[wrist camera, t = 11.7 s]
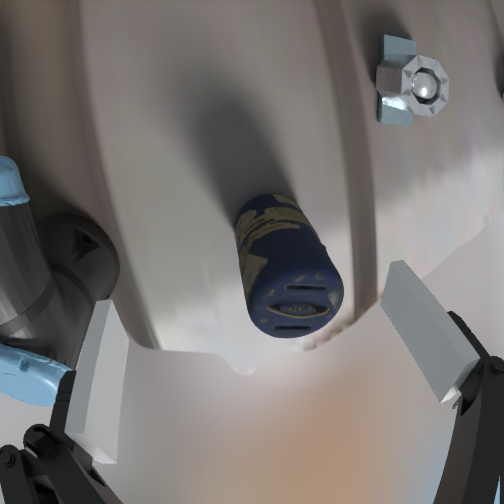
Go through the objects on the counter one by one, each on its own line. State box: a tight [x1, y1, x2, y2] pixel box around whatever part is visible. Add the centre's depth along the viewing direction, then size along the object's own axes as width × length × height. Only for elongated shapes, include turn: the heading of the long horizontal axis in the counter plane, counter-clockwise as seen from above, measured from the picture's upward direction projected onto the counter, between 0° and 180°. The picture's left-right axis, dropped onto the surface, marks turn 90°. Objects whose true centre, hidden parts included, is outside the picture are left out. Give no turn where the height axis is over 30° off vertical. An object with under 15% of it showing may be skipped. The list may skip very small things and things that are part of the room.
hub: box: [376, 54, 449, 117], centre depth 30 cm, size 7×7×6 cm
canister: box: [234, 194, 344, 338], centre depth 36 cm, size 10×10×18 cm
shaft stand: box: [378, 34, 437, 126], centre depth 31 cm, size 5×12×7 cm, turn 1°
